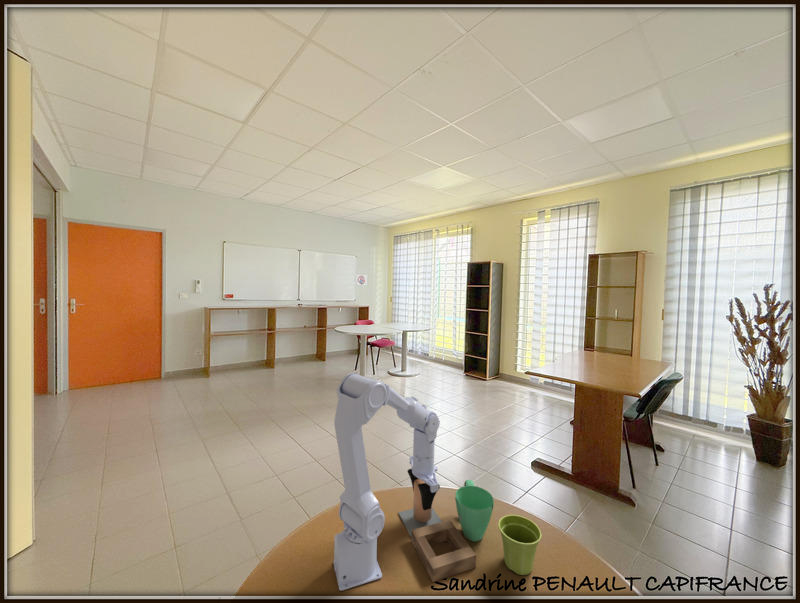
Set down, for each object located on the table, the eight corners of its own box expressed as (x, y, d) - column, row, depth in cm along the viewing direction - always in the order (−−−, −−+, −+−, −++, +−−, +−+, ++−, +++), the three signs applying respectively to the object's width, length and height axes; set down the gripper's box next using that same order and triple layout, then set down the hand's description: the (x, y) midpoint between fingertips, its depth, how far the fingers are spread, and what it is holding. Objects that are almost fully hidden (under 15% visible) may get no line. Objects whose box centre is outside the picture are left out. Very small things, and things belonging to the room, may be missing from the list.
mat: (412, 539, 83) (412, 538, 82) (398, 513, 92) (398, 512, 92) (446, 529, 86) (447, 528, 86) (430, 505, 95) (430, 504, 95)
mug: (496, 550, 80) (498, 511, 79) (456, 548, 80) (458, 509, 80) (483, 509, 94) (485, 476, 94) (450, 507, 95) (451, 474, 94)
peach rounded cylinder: (417, 523, 86) (418, 490, 85) (410, 511, 90) (411, 480, 90) (434, 519, 87) (435, 486, 87) (426, 507, 92) (427, 476, 92)
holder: (432, 582, 71) (433, 569, 71) (411, 541, 82) (411, 530, 82) (475, 567, 75) (476, 555, 74) (449, 530, 86) (449, 519, 86)
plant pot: (491, 549, 80) (492, 515, 80) (527, 547, 81) (529, 513, 81) (507, 583, 71) (508, 545, 70) (548, 580, 72) (549, 542, 71)
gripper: (449, 464, 83) (448, 516, 83) (425, 439, 96) (424, 484, 97) (424, 469, 80) (423, 523, 81) (403, 443, 94) (402, 488, 94)
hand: (422, 502), depth 89 cm, fingers closed on peach rounded cylinder, 5 cm apart
